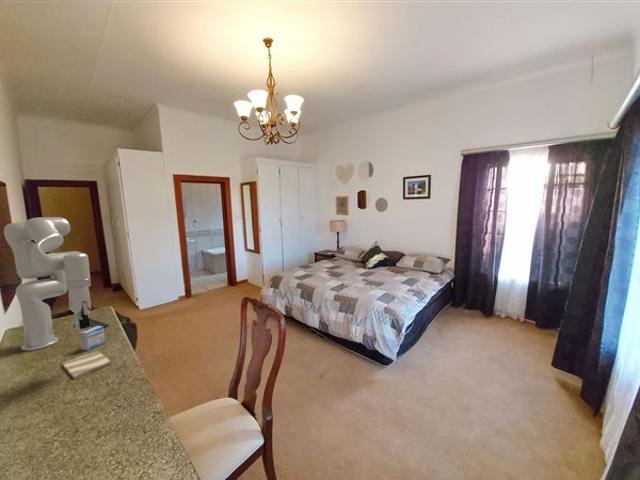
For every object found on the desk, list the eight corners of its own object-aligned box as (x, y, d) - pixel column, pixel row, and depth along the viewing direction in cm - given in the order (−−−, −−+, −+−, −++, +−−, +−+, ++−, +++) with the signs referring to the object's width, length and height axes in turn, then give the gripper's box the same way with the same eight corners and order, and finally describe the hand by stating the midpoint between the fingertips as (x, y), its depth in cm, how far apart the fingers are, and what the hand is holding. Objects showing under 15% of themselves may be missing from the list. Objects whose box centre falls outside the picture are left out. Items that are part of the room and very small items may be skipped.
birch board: (62, 365, 112) (62, 363, 112) (98, 353, 122) (97, 350, 122) (74, 378, 103) (73, 376, 103) (111, 364, 113) (111, 361, 113)
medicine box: (88, 351, 124) (86, 333, 123) (80, 350, 125) (79, 332, 124) (105, 342, 132) (103, 326, 131) (97, 342, 133) (96, 325, 132)
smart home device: (90, 318, 160) (109, 324, 151) (91, 321, 160) (109, 327, 151) (73, 323, 152) (91, 330, 143) (73, 326, 152) (91, 333, 144)
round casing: (74, 328, 110) (72, 310, 110) (88, 324, 114) (86, 306, 113) (77, 331, 108) (75, 312, 107) (92, 327, 112) (90, 309, 111)
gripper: (60, 282, 111) (65, 324, 113) (72, 289, 101) (77, 334, 103) (83, 278, 117) (87, 318, 119) (97, 284, 107) (101, 327, 109)
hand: (83, 325), depth 111 cm, fingers closed on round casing, 4 cm apart
